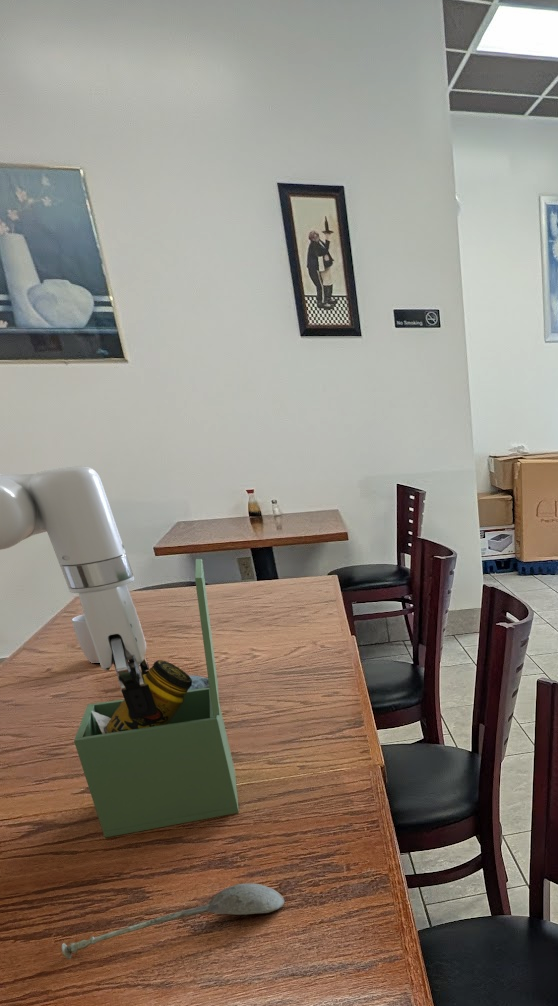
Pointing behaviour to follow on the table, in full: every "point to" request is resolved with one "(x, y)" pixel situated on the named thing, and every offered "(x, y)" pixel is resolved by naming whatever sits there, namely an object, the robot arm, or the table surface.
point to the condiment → (166, 693)
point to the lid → (207, 636)
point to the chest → (158, 768)
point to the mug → (85, 638)
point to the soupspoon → (205, 910)
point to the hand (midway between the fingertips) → (146, 706)
